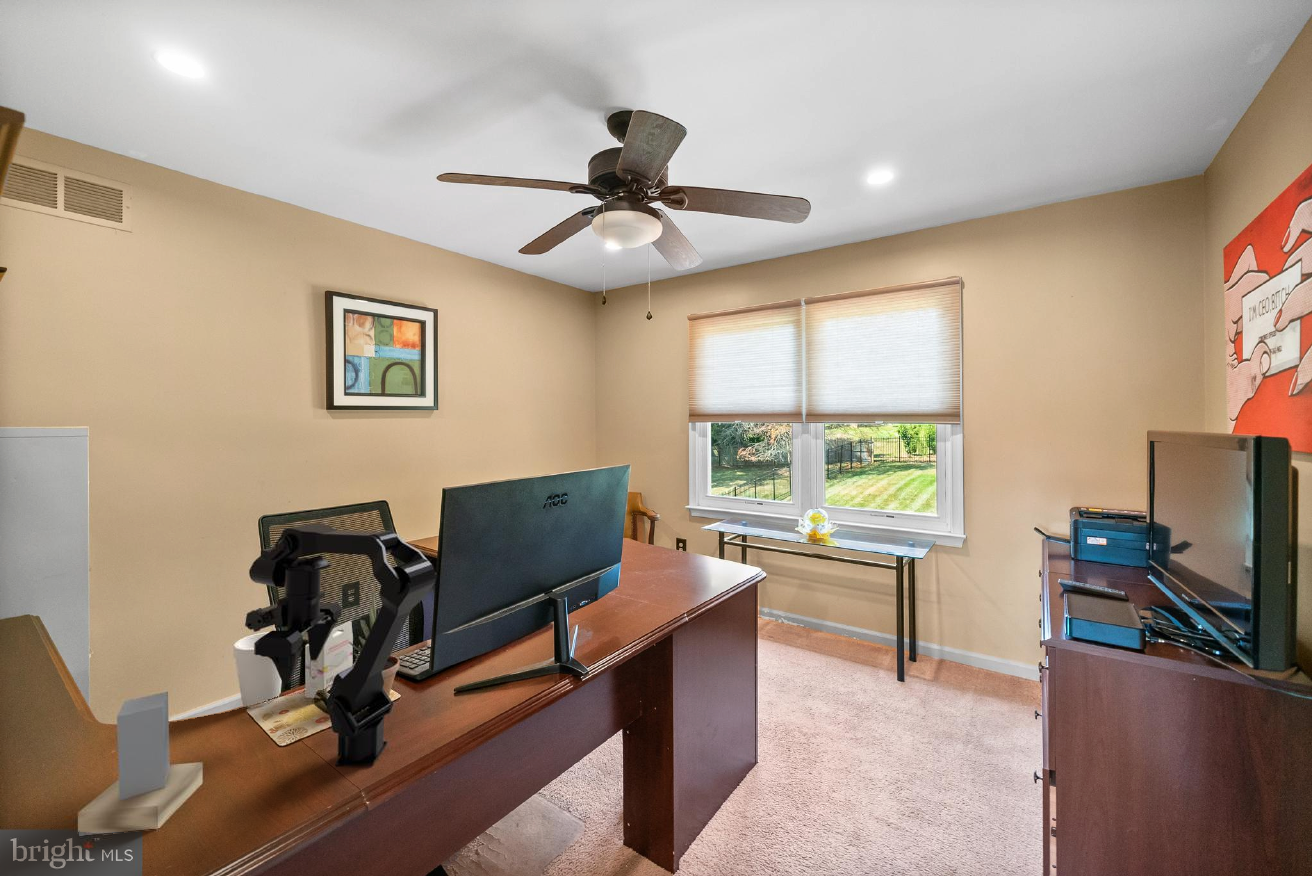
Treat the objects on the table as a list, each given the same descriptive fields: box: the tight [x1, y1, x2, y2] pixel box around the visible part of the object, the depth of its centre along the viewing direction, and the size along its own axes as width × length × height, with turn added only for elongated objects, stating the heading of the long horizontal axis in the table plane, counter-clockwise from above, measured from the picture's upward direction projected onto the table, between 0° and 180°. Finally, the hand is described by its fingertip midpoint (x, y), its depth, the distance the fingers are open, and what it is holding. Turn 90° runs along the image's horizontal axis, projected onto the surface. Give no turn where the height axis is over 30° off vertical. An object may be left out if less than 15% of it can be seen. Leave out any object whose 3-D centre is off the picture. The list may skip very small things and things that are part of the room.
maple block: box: [77, 761, 204, 833], centre depth 82 cm, size 10×10×4 cm
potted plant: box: [349, 585, 400, 697], centre depth 116 cm, size 10×10×25 cm
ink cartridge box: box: [304, 620, 354, 699], centre depth 118 cm, size 9×5×15 cm, turn 168°
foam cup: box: [233, 631, 282, 708], centre depth 113 cm, size 10×9×13 cm
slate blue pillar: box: [116, 691, 171, 800], centre depth 82 cm, size 5×5×13 cm
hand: (300, 670), depth 100 cm, fingers open, 9 cm apart
